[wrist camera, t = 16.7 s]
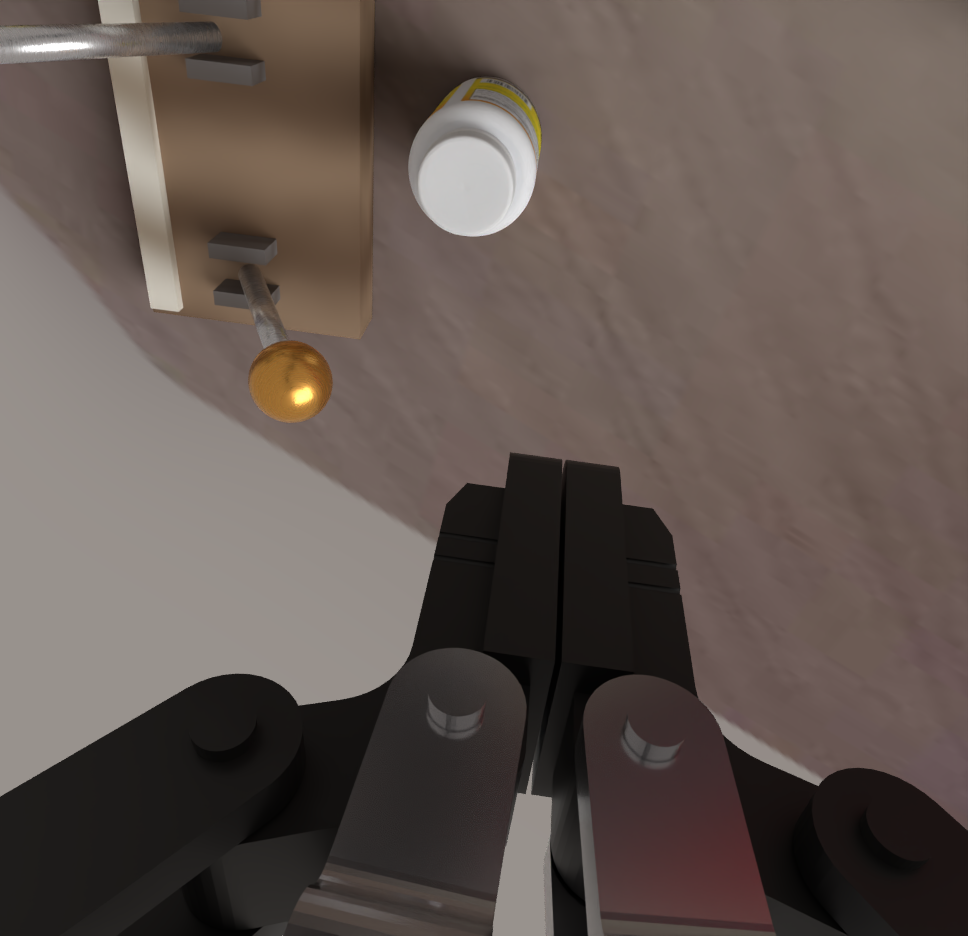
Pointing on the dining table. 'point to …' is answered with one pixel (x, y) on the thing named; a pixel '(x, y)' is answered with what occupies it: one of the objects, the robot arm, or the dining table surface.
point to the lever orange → (282, 360)
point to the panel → (254, 159)
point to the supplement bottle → (477, 157)
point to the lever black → (105, 40)
